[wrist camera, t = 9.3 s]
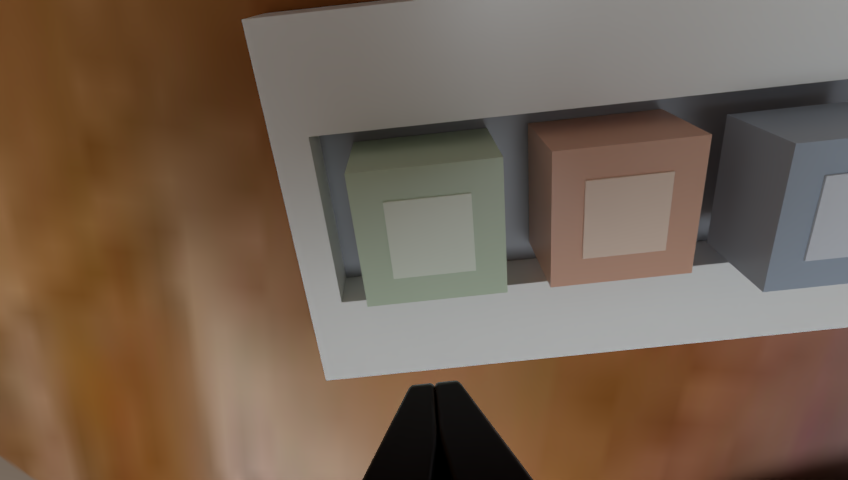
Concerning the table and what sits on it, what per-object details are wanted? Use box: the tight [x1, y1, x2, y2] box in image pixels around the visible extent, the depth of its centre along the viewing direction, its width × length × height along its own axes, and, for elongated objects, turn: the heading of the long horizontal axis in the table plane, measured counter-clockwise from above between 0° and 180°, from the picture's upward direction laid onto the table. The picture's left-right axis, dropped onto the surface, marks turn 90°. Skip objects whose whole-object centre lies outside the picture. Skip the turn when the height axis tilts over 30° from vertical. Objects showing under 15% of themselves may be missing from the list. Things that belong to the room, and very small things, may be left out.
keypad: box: [241, 0, 848, 381], centre depth 17 cm, size 25×12×3 cm, turn 96°
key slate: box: [707, 102, 848, 292], centre depth 15 cm, size 4×4×3 cm
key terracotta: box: [528, 109, 712, 287], centre depth 16 cm, size 4×4×3 cm
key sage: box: [344, 128, 508, 307], centre depth 16 cm, size 4×4×3 cm
